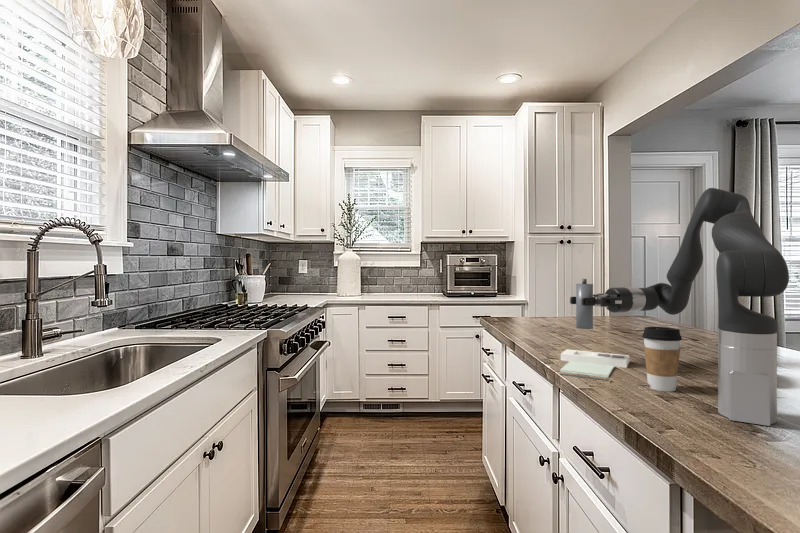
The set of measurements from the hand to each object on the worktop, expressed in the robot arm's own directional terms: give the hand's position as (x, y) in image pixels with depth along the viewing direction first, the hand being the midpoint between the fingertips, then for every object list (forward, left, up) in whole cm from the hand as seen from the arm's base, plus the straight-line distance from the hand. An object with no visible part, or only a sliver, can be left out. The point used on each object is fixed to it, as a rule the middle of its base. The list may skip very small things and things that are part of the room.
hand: (576, 301), depth 128 cm
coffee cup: (-11, -22, -20) cm, 31 cm away
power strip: (+7, -7, -20) cm, 22 cm away
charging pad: (-5, -4, -20) cm, 21 cm away
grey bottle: (+2, -2, -8) cm, 8 cm away
